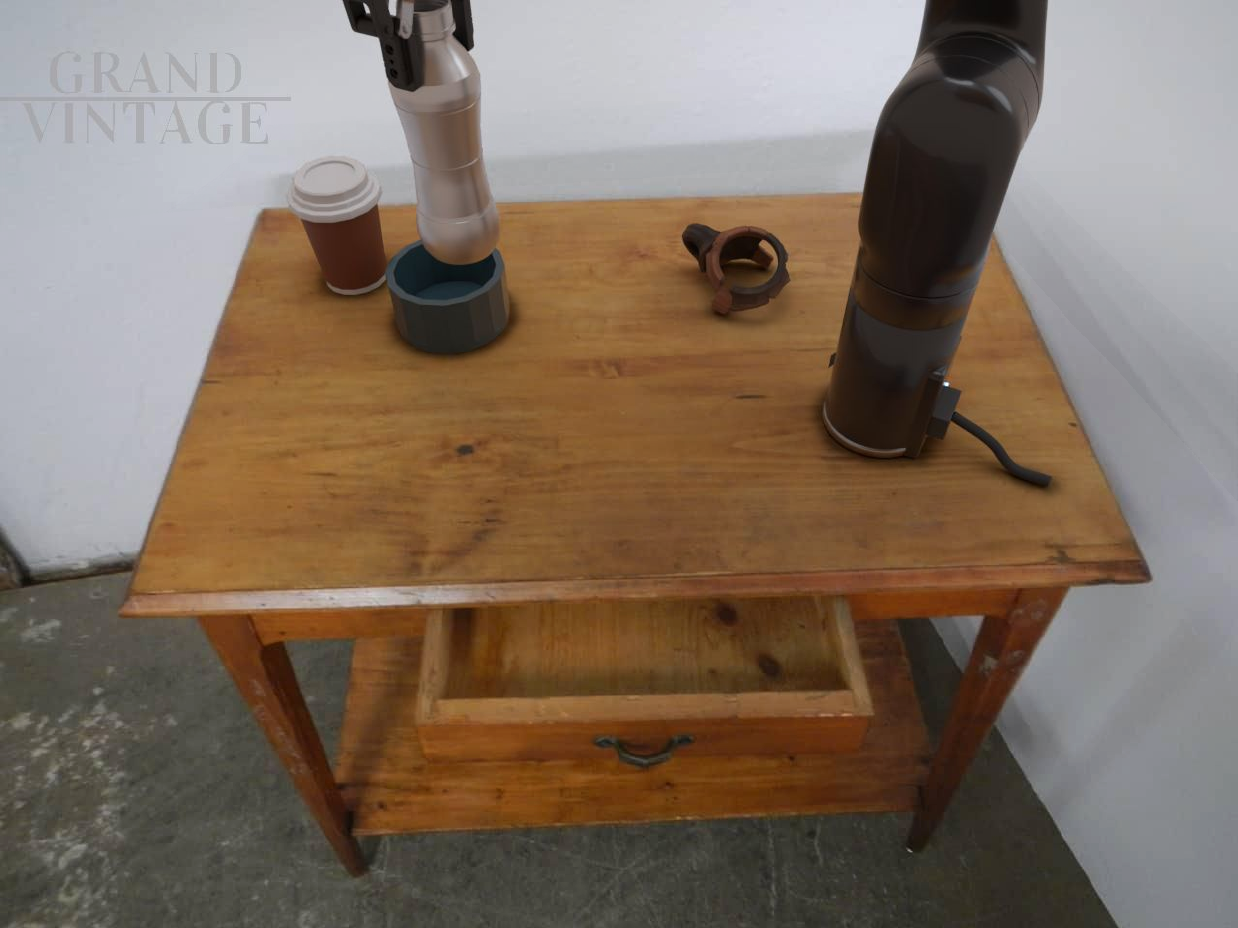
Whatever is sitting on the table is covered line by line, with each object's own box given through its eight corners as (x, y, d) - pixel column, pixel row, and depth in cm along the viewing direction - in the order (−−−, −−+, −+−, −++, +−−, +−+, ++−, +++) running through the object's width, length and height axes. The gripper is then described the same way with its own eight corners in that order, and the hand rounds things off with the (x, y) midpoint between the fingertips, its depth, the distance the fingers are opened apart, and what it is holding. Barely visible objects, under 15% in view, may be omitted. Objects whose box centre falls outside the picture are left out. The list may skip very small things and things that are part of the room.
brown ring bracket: (797, 273, 99) (812, 240, 91) (754, 348, 97) (765, 321, 89) (697, 221, 100) (703, 183, 92) (654, 293, 99) (656, 262, 91)
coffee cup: (297, 296, 97) (263, 194, 88) (335, 245, 102) (307, 144, 93) (379, 308, 95) (353, 206, 86) (413, 256, 101) (392, 155, 92)
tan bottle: (491, 279, 75) (457, 26, 60) (410, 270, 76) (357, 18, 61) (512, 233, 79) (485, -14, 64) (436, 225, 80) (391, -21, 65)
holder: (530, 301, 96) (525, 252, 91) (469, 367, 89) (460, 318, 85) (439, 271, 99) (430, 223, 95) (374, 333, 93) (361, 284, 88)
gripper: (364, -180, 48) (419, 127, 60) (511, -243, 56) (532, 38, 69) (251, -198, 50) (326, 101, 63) (408, -256, 59) (447, 18, 71)
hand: (434, 67), depth 66 cm, fingers closed on tan bottle, 6 cm apart
